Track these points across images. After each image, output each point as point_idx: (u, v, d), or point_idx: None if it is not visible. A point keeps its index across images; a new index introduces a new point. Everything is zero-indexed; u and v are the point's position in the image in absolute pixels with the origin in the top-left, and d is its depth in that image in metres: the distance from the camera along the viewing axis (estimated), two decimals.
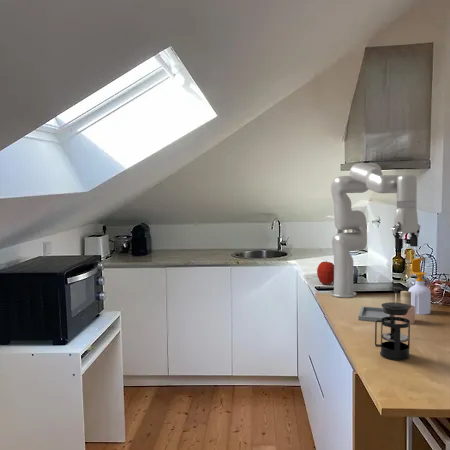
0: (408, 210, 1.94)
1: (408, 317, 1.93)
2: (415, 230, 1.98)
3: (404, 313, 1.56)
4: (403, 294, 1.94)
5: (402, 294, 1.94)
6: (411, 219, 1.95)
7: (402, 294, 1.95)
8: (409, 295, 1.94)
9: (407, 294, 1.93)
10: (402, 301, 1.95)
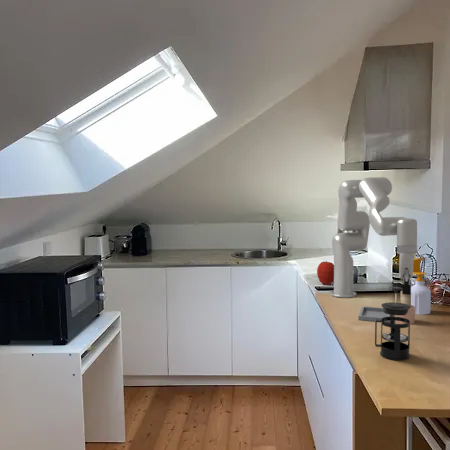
0: (413, 255, 1.91)
1: (408, 317, 1.93)
2: None
3: (404, 313, 1.56)
4: (403, 294, 1.94)
5: (402, 294, 1.94)
6: None
7: (402, 294, 1.95)
8: (409, 295, 1.94)
9: None
10: (402, 301, 1.95)
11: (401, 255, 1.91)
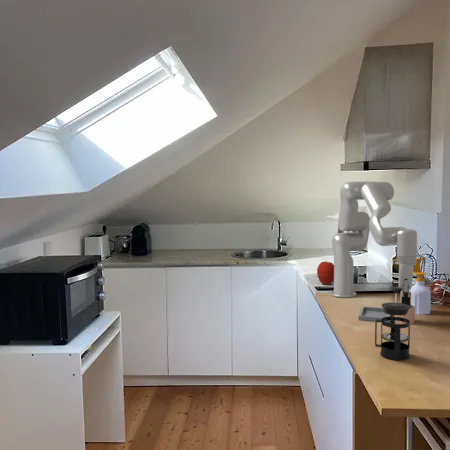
0: (412, 265, 1.91)
1: (408, 317, 1.93)
2: None
3: (404, 313, 1.56)
4: None
5: None
6: None
7: None
8: (409, 295, 1.94)
9: None
10: None
11: (401, 266, 1.91)
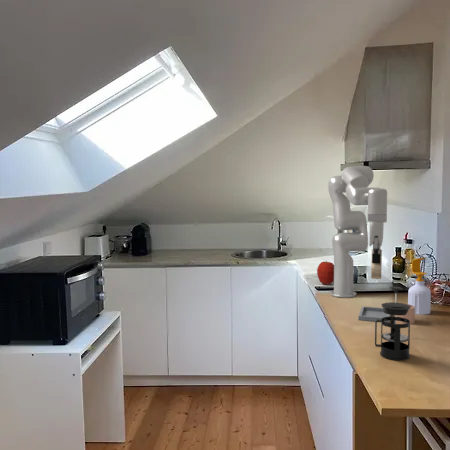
0: (382, 223, 1.98)
1: (408, 317, 1.93)
2: None
3: (404, 313, 1.56)
4: None
5: None
6: None
7: (372, 251, 2.01)
8: (380, 252, 2.00)
9: None
10: None
11: (371, 223, 1.97)
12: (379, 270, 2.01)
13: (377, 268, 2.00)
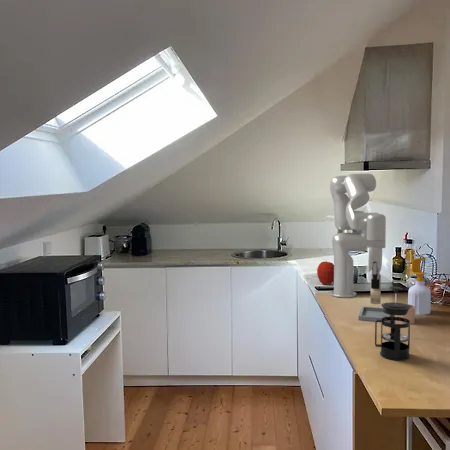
0: (381, 249, 1.99)
1: (408, 317, 1.93)
2: None
3: (404, 313, 1.56)
4: None
5: None
6: None
7: (371, 276, 2.02)
8: None
9: None
10: None
11: (370, 249, 1.98)
12: (378, 295, 2.01)
13: (376, 294, 2.01)
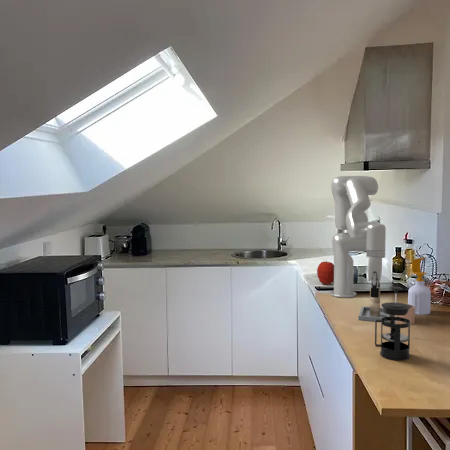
0: (381, 259, 1.99)
1: (408, 317, 1.93)
2: None
3: (404, 313, 1.56)
4: None
5: None
6: (381, 267, 2.01)
7: None
8: None
9: None
10: None
11: (370, 259, 1.99)
12: (378, 308, 2.02)
13: (375, 306, 2.02)
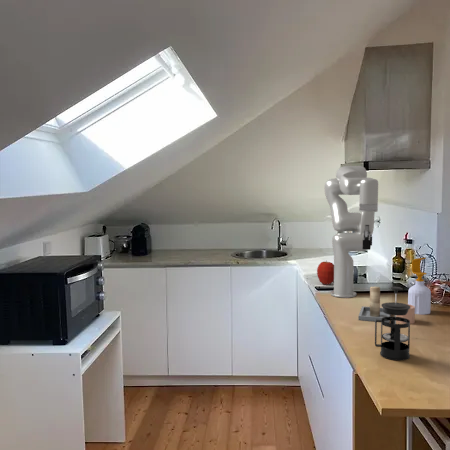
0: (373, 213, 2.05)
1: (408, 317, 1.93)
2: None
3: (404, 313, 1.56)
4: (373, 289, 2.02)
5: (371, 289, 2.02)
6: None
7: (371, 289, 2.03)
8: (378, 290, 2.02)
9: (376, 289, 2.01)
10: (371, 296, 2.03)
11: (362, 213, 2.04)
12: (378, 308, 2.02)
13: (375, 306, 2.02)
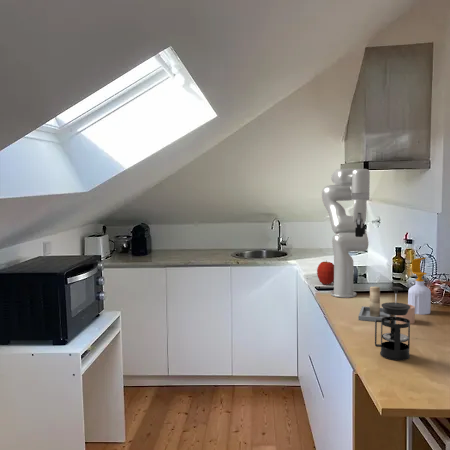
0: (365, 201, 2.12)
1: (408, 317, 1.93)
2: (365, 219, 2.18)
3: (404, 313, 1.56)
4: (372, 289, 2.02)
5: (371, 289, 2.02)
6: None
7: (371, 289, 2.03)
8: (378, 290, 2.02)
9: (376, 289, 2.01)
10: (371, 296, 2.03)
11: (355, 201, 2.12)
12: (377, 308, 2.02)
13: (375, 306, 2.02)
